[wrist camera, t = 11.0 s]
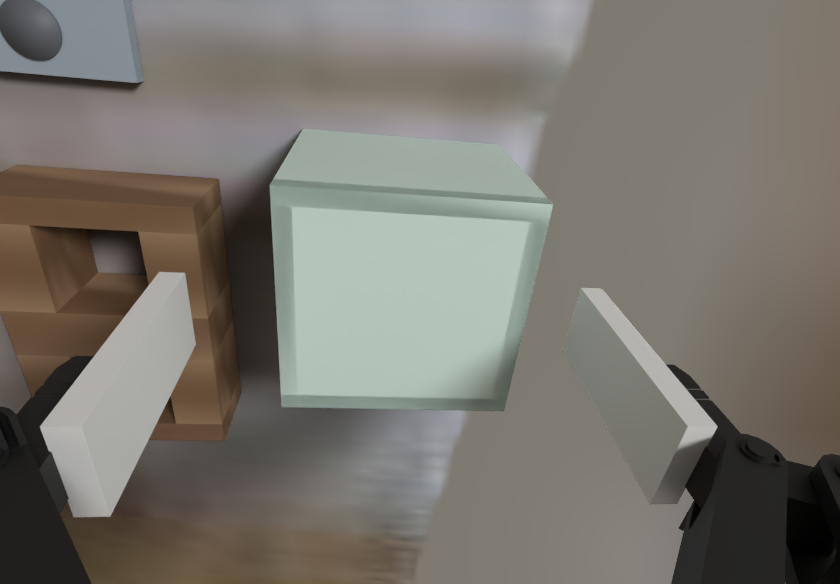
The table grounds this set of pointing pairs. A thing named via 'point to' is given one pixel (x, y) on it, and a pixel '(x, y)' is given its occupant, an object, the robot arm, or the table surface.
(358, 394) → the cover
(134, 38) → the tile
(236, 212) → the table surface
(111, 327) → the socket block
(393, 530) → the table surface
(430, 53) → the table surface
